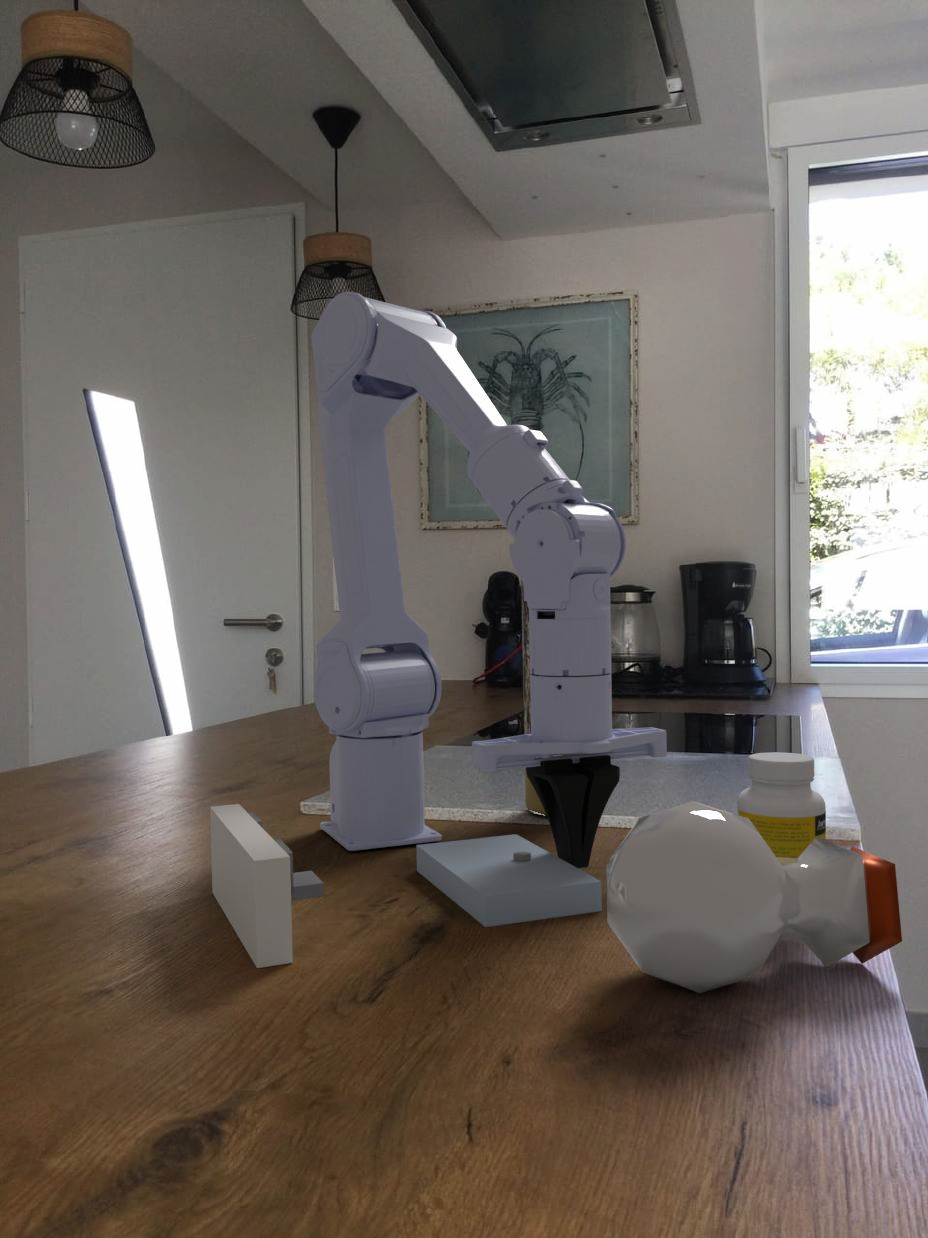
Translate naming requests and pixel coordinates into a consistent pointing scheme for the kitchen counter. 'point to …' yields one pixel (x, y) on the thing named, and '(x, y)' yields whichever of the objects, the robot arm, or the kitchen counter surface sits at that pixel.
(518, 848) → the door
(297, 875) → the side panel
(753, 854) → the potion bottle
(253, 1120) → the kitchen counter surface
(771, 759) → the supplement bottle
